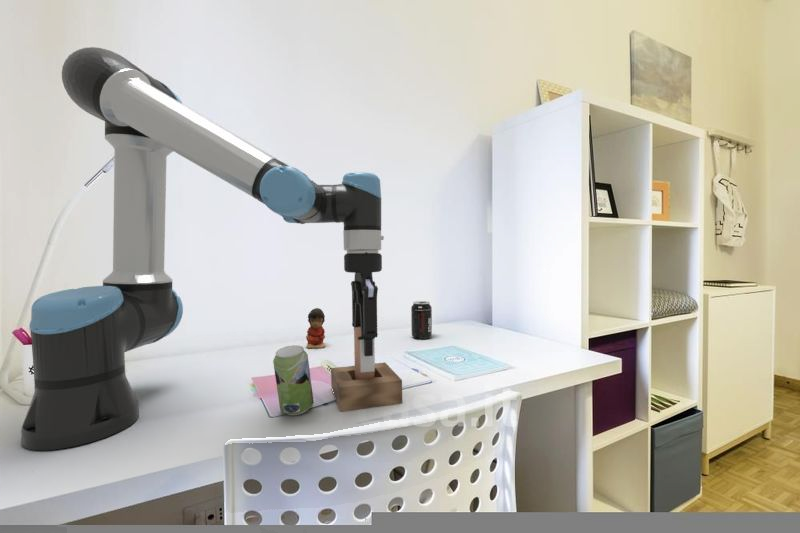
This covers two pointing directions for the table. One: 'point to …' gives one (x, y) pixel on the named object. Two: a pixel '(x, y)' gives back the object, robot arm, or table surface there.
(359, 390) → the socket block
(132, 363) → the table surface
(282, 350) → the beverage can
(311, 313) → the figurine
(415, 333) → the beverage can
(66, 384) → the robot arm
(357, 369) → the dowel
